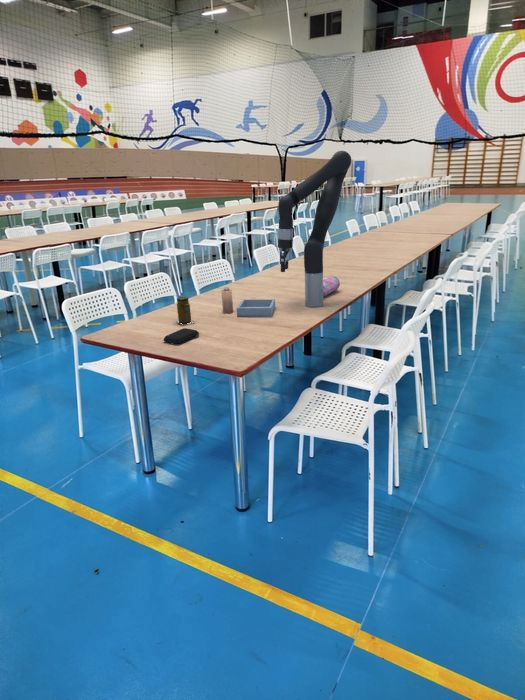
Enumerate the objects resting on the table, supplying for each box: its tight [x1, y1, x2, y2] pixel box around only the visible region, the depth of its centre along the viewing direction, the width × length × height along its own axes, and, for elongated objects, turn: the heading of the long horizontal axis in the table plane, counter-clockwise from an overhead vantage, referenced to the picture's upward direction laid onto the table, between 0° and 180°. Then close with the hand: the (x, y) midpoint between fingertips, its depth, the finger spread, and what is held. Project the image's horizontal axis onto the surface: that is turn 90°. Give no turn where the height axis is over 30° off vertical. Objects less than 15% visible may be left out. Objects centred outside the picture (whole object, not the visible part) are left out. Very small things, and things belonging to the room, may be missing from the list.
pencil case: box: [323, 275, 341, 297], centre depth 265 cm, size 21×9×9 cm, turn 143°
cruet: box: [220, 286, 234, 314], centre depth 241 cm, size 5×5×12 cm
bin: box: [236, 298, 277, 318], centre depth 239 cm, size 17×16×4 cm
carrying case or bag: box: [163, 327, 200, 345], centre depth 207 cm, size 11×3×15 cm
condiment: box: [175, 296, 196, 326], centre depth 227 cm, size 7×8×12 cm
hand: (284, 270), depth 243 cm, fingers open, 8 cm apart
